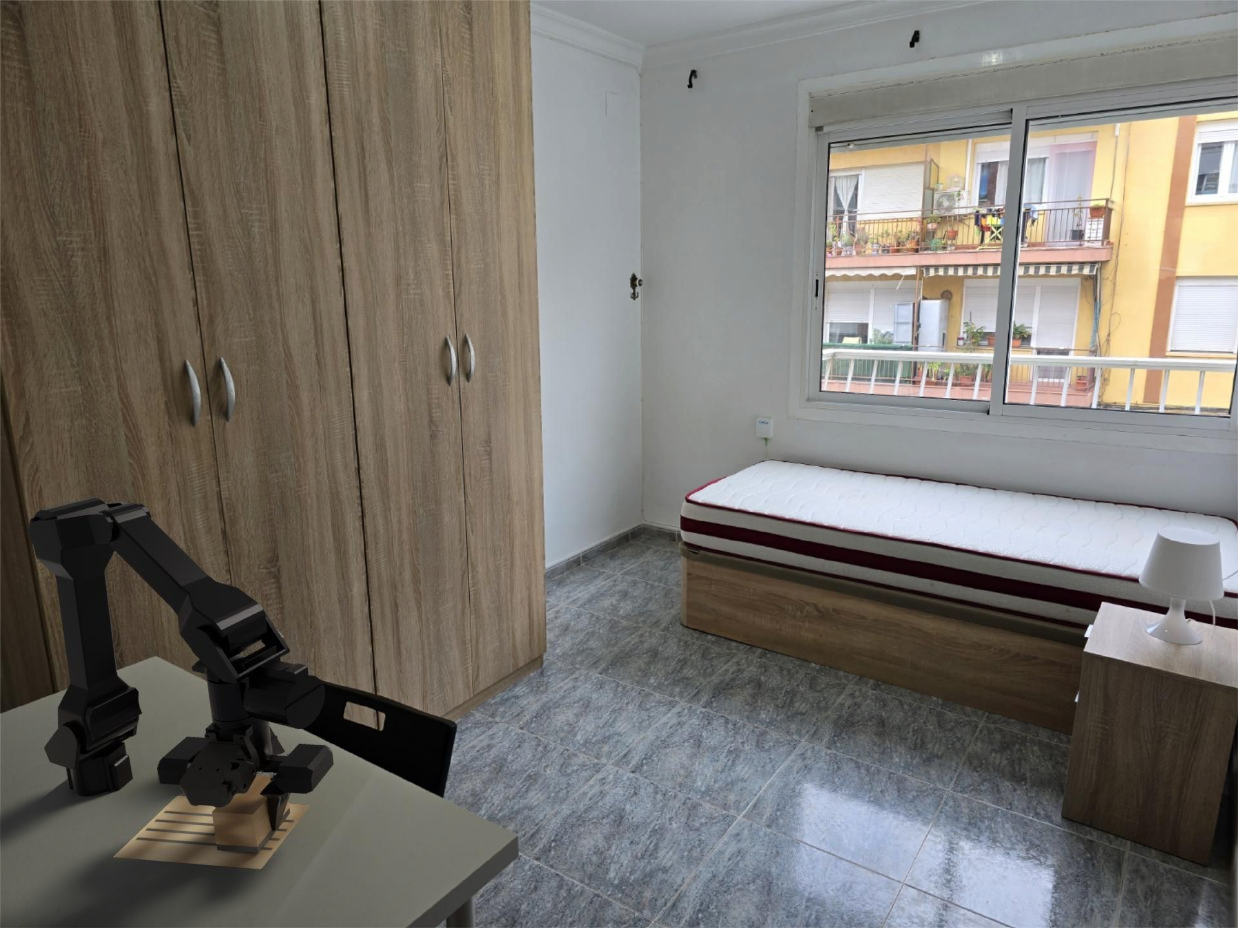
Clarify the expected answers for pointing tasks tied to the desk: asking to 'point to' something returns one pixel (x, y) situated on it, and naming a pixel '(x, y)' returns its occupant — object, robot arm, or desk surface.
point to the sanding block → (245, 820)
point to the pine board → (198, 838)
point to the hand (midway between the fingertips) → (254, 826)
